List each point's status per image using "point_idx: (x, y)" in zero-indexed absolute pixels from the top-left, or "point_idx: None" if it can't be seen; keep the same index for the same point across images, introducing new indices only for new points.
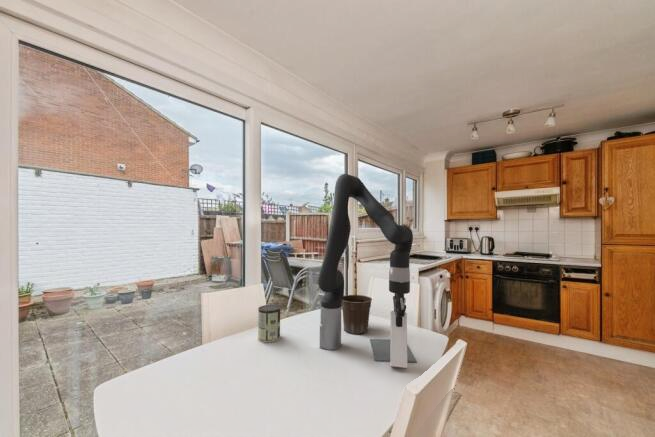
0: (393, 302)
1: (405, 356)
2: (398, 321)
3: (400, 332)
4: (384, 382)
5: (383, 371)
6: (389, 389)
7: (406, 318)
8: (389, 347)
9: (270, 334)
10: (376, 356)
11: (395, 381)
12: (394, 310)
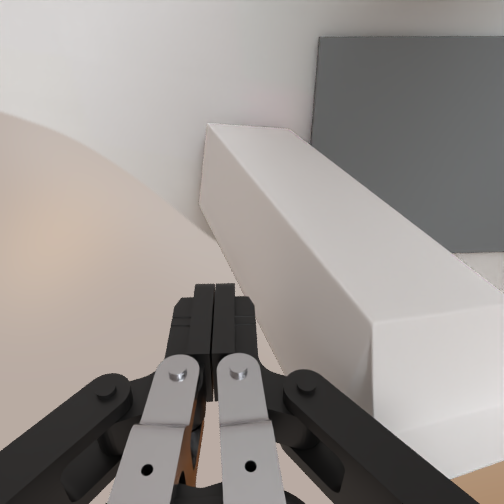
0: (431, 470)
1: (211, 223)
2: (171, 334)
3: (261, 275)
4: (80, 62)
5: (198, 74)
6: (20, 79)
7: None
8: (476, 154)
9: None
10: (367, 52)
11: (107, 124)
12: (297, 385)
